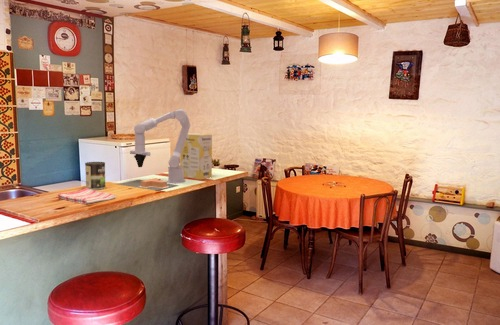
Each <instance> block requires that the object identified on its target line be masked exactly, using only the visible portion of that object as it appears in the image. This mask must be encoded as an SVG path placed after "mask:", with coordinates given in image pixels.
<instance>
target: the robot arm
mask: <svg viewBox="0 0 500 325" xmlns="http://www.w3.org/2000/svg"><path fill="white" fill-rule="evenodd" d="M169 119H171V120H175V119H176V120H177V121H178V122H179V123H180V125H181V129H180V131H179V135H178V138H177V142H176V144H175V147H174V151H173V153H172V156H171V157H170V158H169V160H168V176H167V178H168V180H167V184H173V185H177V184H179V183H184V182H186V180H185V177H184V170H183V168H181V167H180V155H181V152H182V149H183V146H184V143H185V140H186V137H187V134H188V133H189V131H190V128H191V123H190V119H189V116H188V113H187V112H186V111H185V110H184V109H182V108H180V109H177V110H172V111H169V112H167V113H165V114H162V115H161V116H159V117H156V118H155V117H148V118H147V119H146V120H145V121H140V123H137V124H135V126H134V127H133V130H134V150H129V155H133V158H134V159H135V161H136V163H137V167H138V168H142V167H143V166H144V161H145V159H146V158H147V157H151V152H150V151H146V137H145V131H146V132H149V131H150V130H152V129H155V128H156V127H157V126H158V124H160V123H162V122H164V121H167V120H169Z"/></svg>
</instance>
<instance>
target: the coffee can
mask: <svg viewBox="0 0 500 325" xmlns="http://www.w3.org/2000/svg"><path fill="white" fill-rule="evenodd" d="M84 165H85V166H84V167H85V169H84V170H85V188H88V189H91V190H94V191H96V190H97V191H99V190H104V189H105V188H106V162H104V161H87V162H85V163H84Z"/></svg>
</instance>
